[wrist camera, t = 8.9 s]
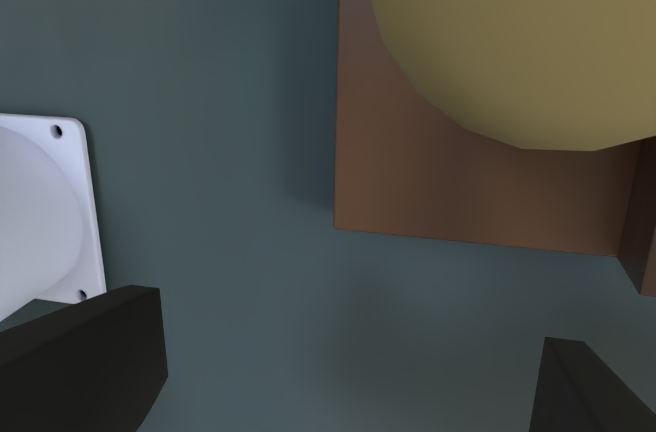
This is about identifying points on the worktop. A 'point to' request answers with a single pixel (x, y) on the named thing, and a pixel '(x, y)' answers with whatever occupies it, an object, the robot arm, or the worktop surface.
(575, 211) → the shelf
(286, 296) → the worktop surface
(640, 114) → the olive door knob
